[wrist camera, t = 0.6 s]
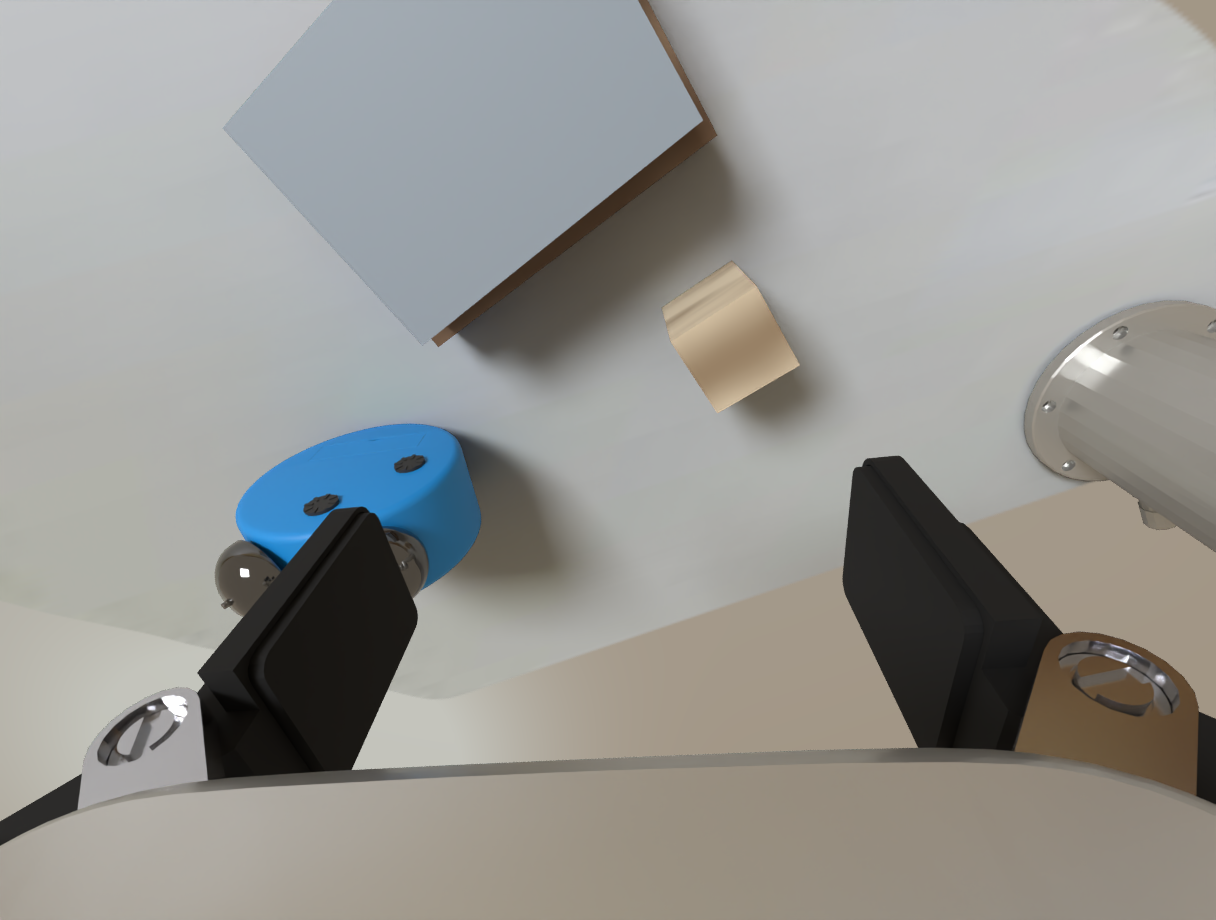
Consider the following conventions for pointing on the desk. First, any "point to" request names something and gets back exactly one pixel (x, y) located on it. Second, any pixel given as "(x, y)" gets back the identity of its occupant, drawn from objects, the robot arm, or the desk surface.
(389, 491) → the alarm clock
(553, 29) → the slate slab
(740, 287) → the beech block
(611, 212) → the walnut slab
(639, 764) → the robot arm
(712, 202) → the desk surface
